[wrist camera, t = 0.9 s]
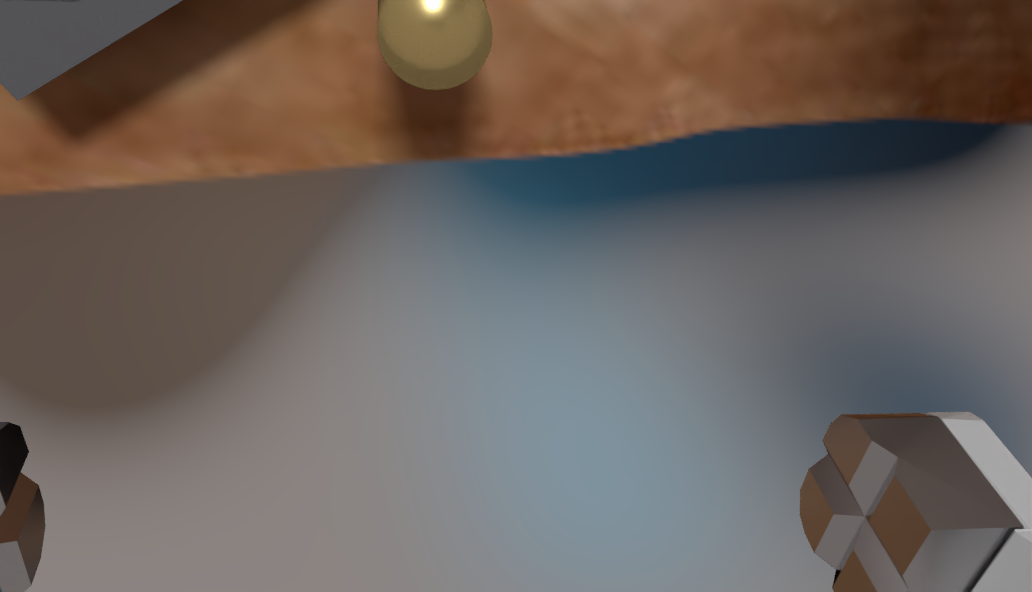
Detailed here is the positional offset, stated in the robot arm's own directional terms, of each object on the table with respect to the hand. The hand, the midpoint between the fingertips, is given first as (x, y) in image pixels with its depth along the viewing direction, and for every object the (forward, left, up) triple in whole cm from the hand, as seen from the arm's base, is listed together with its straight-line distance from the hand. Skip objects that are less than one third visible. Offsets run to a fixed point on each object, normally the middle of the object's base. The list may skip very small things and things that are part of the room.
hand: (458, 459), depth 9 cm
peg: (+1, +4, -31) cm, 32 cm away
